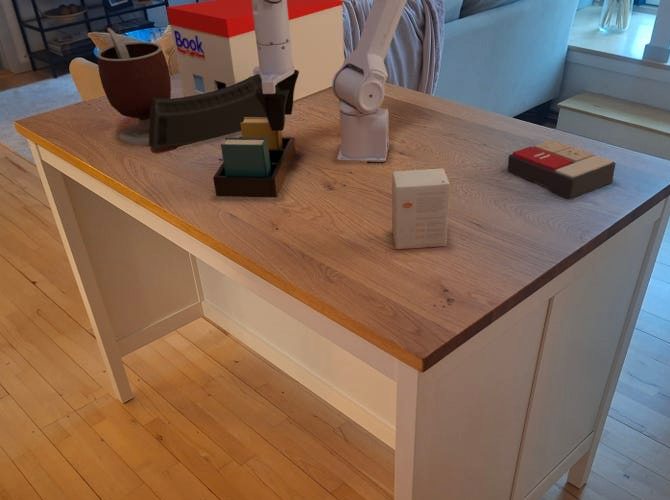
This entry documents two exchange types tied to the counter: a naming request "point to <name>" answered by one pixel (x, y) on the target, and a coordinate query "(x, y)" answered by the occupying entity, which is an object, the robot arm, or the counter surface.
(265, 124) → the mustard book
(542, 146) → the red and beige box
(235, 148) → the teal book
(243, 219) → the counter surface
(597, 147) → the counter surface
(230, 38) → the bookstore
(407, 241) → the small box
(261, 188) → the caddy
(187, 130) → the magazine
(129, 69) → the mate gourd
